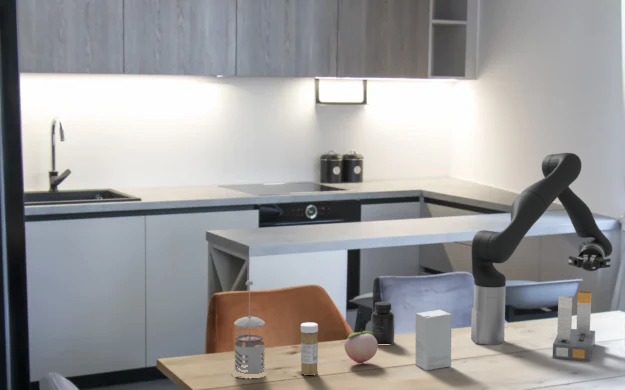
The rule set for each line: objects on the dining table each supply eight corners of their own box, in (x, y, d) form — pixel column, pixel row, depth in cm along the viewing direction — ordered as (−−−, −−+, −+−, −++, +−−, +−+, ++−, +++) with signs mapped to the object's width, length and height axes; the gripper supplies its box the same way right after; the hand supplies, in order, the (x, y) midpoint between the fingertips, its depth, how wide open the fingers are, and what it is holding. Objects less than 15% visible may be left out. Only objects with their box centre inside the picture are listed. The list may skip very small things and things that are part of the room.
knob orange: (589, 334, 268) (590, 293, 267) (576, 332, 269) (577, 292, 268) (589, 332, 270) (591, 291, 269) (577, 331, 271) (578, 291, 270)
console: (589, 361, 256) (590, 346, 255) (552, 358, 259) (552, 343, 259) (594, 344, 275) (595, 329, 274) (560, 340, 278) (560, 326, 278)
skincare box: (439, 361, 255) (440, 308, 254) (452, 367, 250) (453, 313, 249) (413, 365, 252) (414, 311, 250) (425, 371, 246) (426, 316, 245)
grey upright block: (570, 339, 261) (571, 298, 260) (557, 338, 263) (558, 297, 261) (570, 338, 263) (572, 296, 262) (558, 337, 264) (559, 295, 263)
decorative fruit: (362, 371, 246) (362, 334, 245) (339, 365, 252) (339, 329, 251) (384, 363, 253) (384, 328, 252) (361, 358, 259) (361, 323, 258)
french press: (239, 381, 237) (239, 285, 234) (222, 369, 247) (222, 277, 245) (274, 376, 241) (274, 281, 239) (256, 365, 252) (256, 274, 249)
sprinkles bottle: (310, 370, 247) (310, 321, 245) (321, 374, 243) (321, 324, 242) (297, 373, 244) (297, 323, 242) (307, 377, 240) (308, 326, 239)
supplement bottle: (382, 338, 280) (382, 299, 279) (398, 343, 275) (399, 303, 274) (366, 342, 275) (366, 303, 274) (383, 347, 270) (383, 307, 269)
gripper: (570, 244, 292) (564, 252, 276) (613, 246, 288) (610, 255, 272) (569, 267, 293) (563, 277, 277) (613, 270, 289) (610, 280, 272)
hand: (587, 266), depth 274 cm, fingers closed
